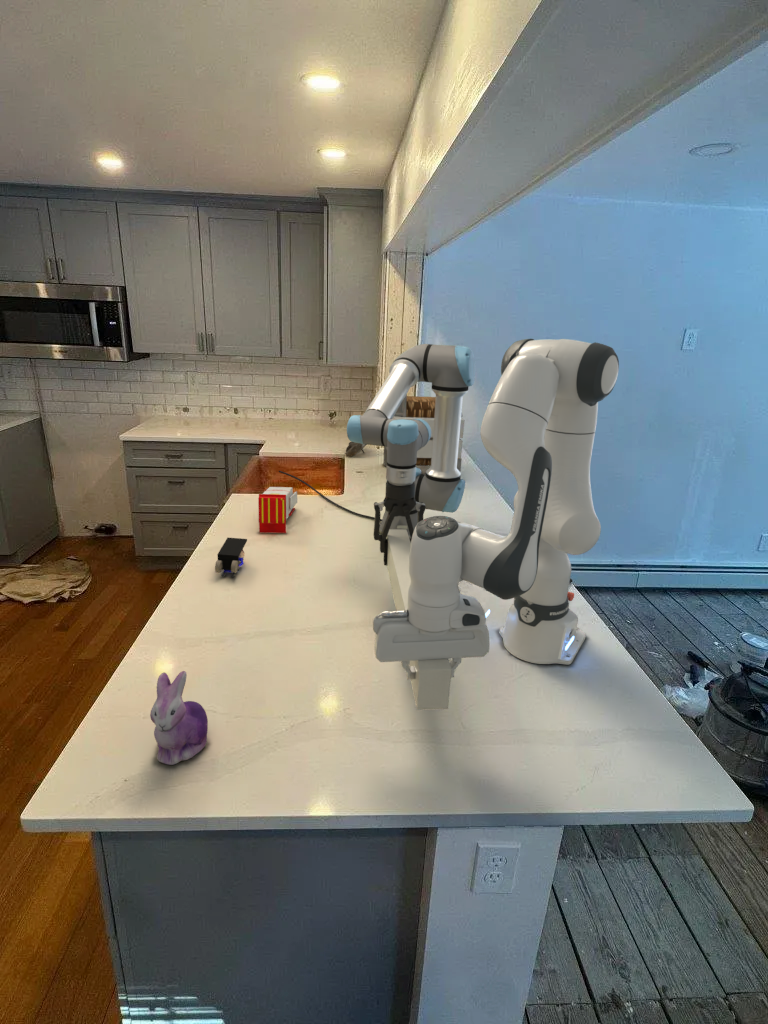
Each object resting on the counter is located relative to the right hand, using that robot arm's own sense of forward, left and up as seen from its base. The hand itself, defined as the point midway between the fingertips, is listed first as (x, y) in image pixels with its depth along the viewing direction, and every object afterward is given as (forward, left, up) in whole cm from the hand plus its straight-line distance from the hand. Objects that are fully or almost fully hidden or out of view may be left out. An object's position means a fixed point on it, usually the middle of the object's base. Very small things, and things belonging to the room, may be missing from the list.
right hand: (430, 676), depth 102 cm
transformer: (-136, -116, -13) cm, 179 cm away
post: (-18, -20, -3) cm, 27 cm away
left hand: (-35, -40, -2) cm, 53 cm away
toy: (-47, -108, -13) cm, 119 cm away
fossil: (-140, -163, -13) cm, 215 cm away
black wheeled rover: (-11, -83, -13) cm, 85 cm away
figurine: (+34, -27, -13) cm, 46 cm away
